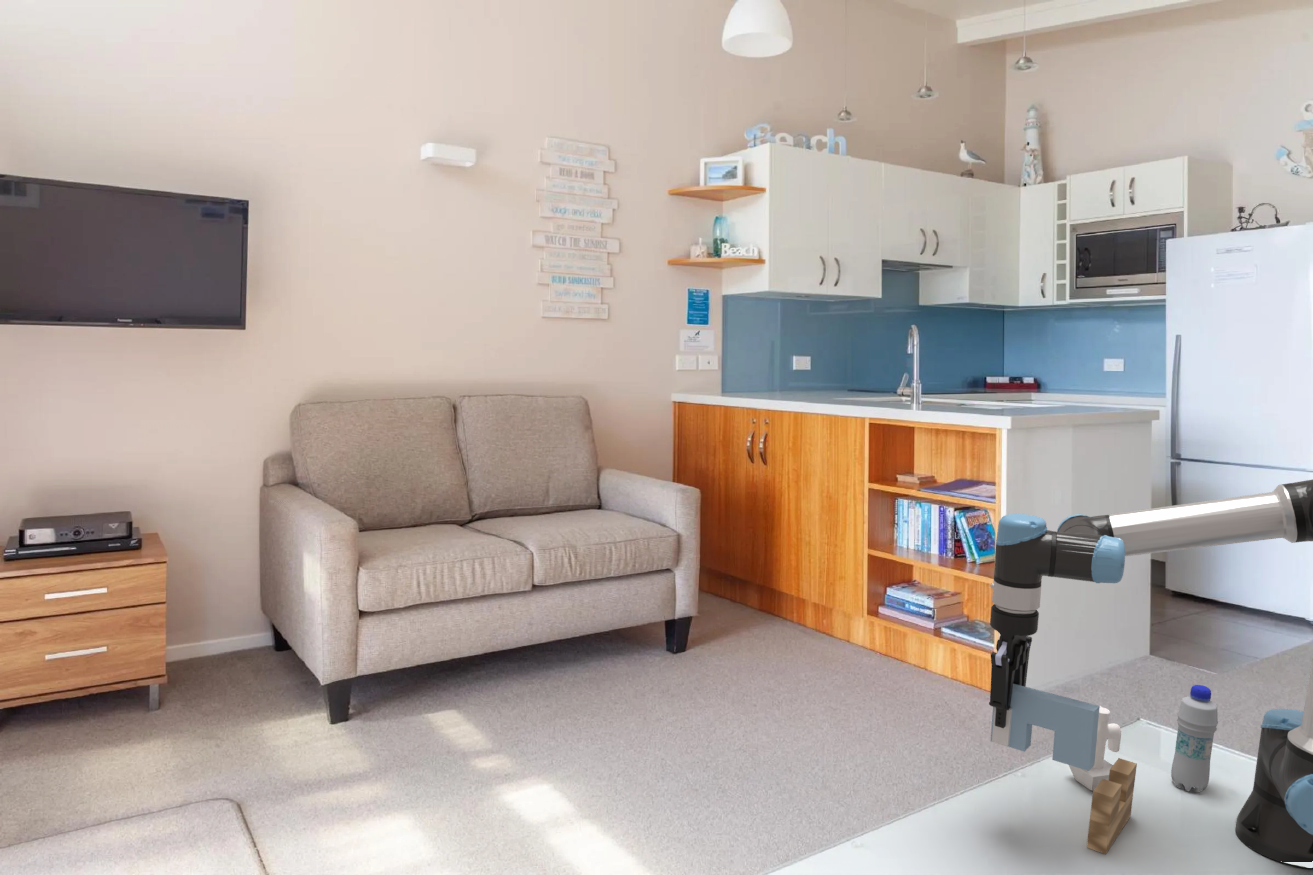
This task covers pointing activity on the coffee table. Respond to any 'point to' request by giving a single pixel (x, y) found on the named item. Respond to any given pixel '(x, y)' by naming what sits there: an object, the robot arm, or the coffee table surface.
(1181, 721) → the bottle
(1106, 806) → the wooden block stack
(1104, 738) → the figurine
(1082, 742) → the blue bridge block
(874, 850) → the coffee table surface
